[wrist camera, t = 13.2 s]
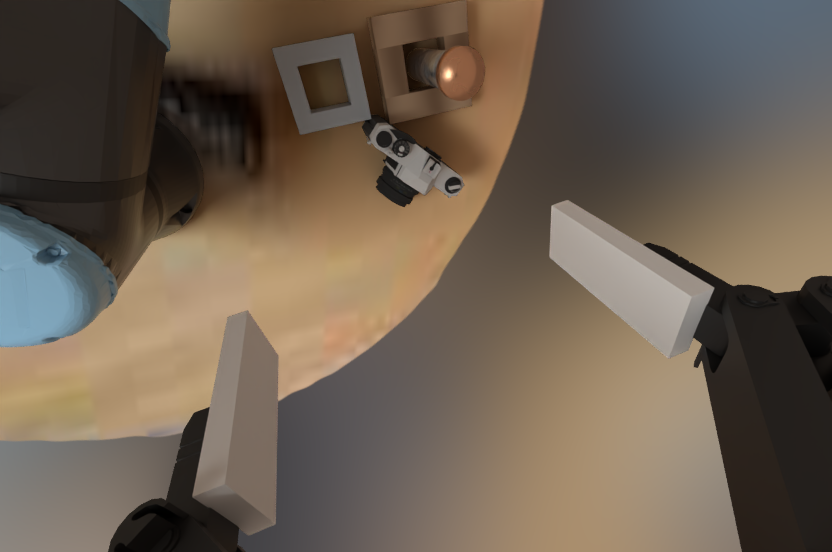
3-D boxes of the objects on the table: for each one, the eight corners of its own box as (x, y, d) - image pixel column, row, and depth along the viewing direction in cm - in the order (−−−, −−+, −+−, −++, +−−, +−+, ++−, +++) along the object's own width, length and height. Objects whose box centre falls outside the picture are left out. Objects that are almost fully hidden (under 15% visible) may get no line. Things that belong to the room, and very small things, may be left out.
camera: (337, 163, 44) (350, 192, 37) (368, 104, 41) (388, 123, 34) (418, 205, 51) (442, 236, 44) (449, 157, 48) (480, 182, 41)
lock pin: (405, 87, 41) (442, 105, 31) (399, 47, 39) (437, 51, 28) (438, 80, 42) (485, 95, 31) (433, 40, 39) (484, 41, 29)
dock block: (386, 120, 42) (390, 124, 40) (366, 18, 37) (370, 17, 35) (464, 102, 44) (472, 105, 42) (457, 1, 38) (466, -1, 36)
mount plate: (300, 130, 40) (300, 134, 38) (273, 47, 36) (271, 48, 34) (367, 115, 42) (371, 118, 40) (350, 33, 37) (353, 33, 35)
